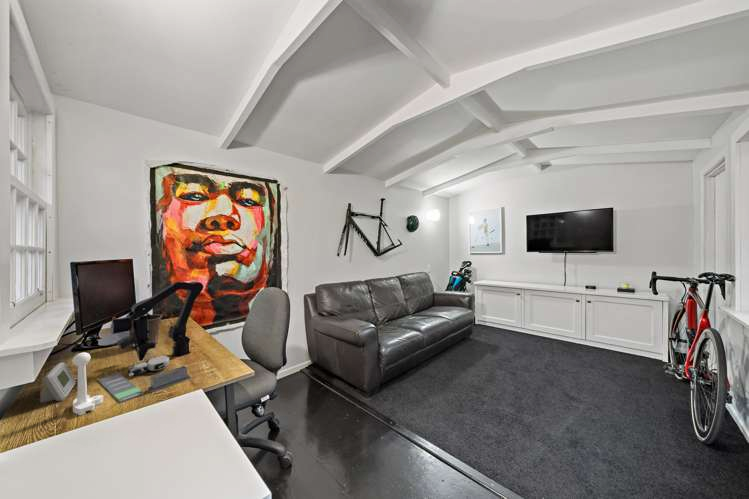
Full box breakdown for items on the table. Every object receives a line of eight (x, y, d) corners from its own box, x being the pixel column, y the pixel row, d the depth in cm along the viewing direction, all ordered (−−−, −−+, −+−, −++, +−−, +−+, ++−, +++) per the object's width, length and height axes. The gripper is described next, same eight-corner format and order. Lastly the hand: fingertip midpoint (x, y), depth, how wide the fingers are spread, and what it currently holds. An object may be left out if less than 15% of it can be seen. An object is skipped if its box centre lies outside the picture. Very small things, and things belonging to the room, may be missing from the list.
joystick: (70, 405, 99) (70, 351, 99) (100, 396, 105) (99, 345, 105) (75, 417, 92) (74, 358, 92) (106, 406, 99) (105, 351, 98)
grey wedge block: (186, 376, 122) (186, 364, 122) (190, 378, 120) (190, 367, 120) (147, 389, 110) (147, 377, 110) (151, 392, 108) (151, 380, 108)
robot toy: (128, 382, 118) (171, 369, 128) (127, 372, 118) (170, 360, 128) (128, 373, 127) (168, 361, 137) (127, 363, 126) (167, 352, 137)
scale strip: (119, 374, 124) (119, 372, 124) (144, 394, 107) (144, 392, 107) (97, 380, 118) (97, 379, 118) (120, 403, 101) (120, 401, 101)
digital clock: (63, 402, 101) (62, 374, 101) (27, 408, 98) (27, 379, 98) (86, 382, 116) (85, 357, 116) (56, 387, 112) (55, 361, 112)
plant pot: (168, 342, 164) (168, 316, 164) (136, 352, 150) (135, 322, 149) (152, 338, 171) (152, 313, 171) (120, 347, 156) (120, 319, 156)
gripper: (112, 329, 132) (112, 361, 132) (125, 336, 122) (125, 371, 122) (141, 324, 141) (141, 354, 141) (155, 330, 131) (156, 362, 131)
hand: (140, 360), depth 134 cm, fingers closed
